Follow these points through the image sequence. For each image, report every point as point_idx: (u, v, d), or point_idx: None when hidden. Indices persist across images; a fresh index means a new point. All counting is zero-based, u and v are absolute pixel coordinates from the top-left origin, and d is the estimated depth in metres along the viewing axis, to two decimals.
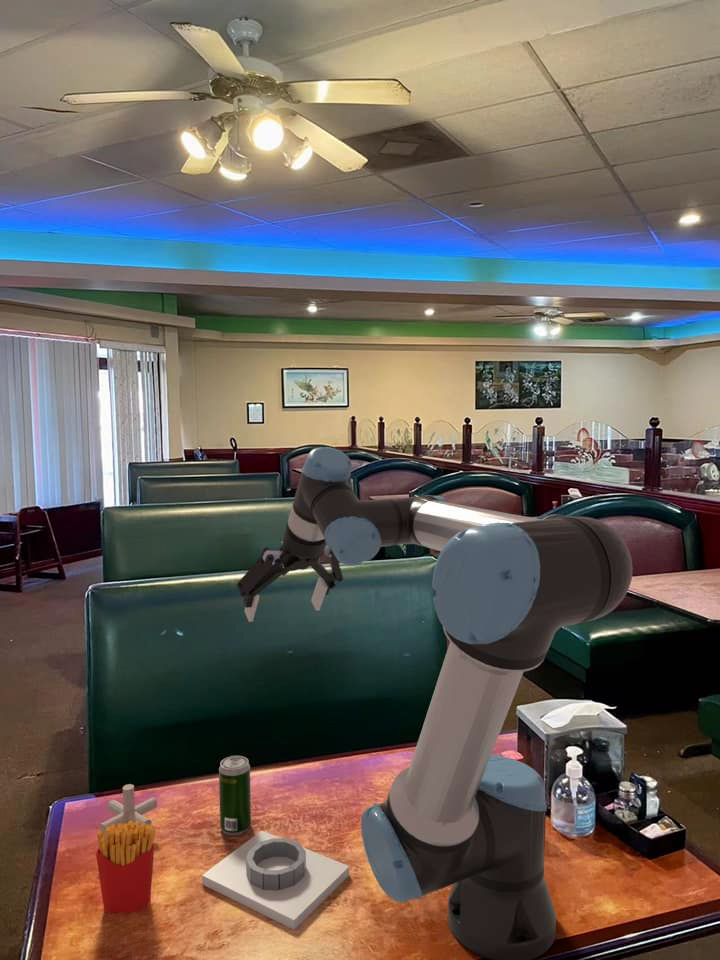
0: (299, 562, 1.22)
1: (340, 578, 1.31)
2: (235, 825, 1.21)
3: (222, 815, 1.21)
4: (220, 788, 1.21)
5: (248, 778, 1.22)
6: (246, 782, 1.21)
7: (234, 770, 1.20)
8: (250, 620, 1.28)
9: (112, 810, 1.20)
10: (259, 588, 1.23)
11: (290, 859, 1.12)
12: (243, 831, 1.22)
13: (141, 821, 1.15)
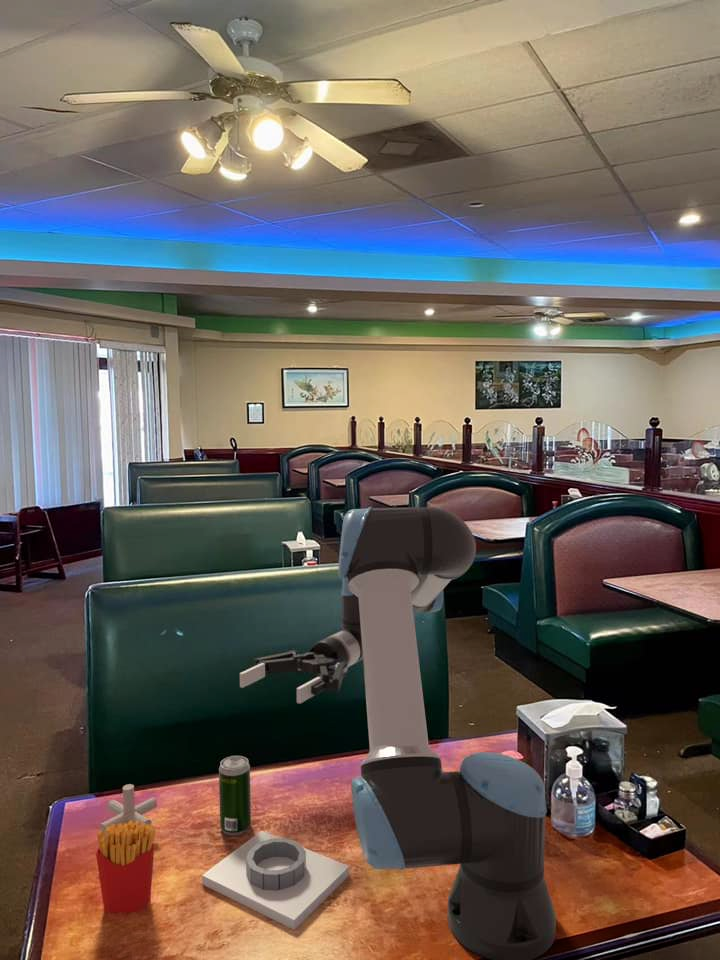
0: (313, 653, 1.42)
1: None
2: (235, 825, 1.21)
3: (222, 815, 1.21)
4: (220, 788, 1.21)
5: (248, 778, 1.22)
6: (246, 782, 1.21)
7: (234, 770, 1.20)
8: (241, 672, 1.33)
9: (112, 810, 1.20)
10: (270, 660, 1.40)
11: (290, 859, 1.12)
12: (243, 831, 1.22)
13: (141, 821, 1.15)
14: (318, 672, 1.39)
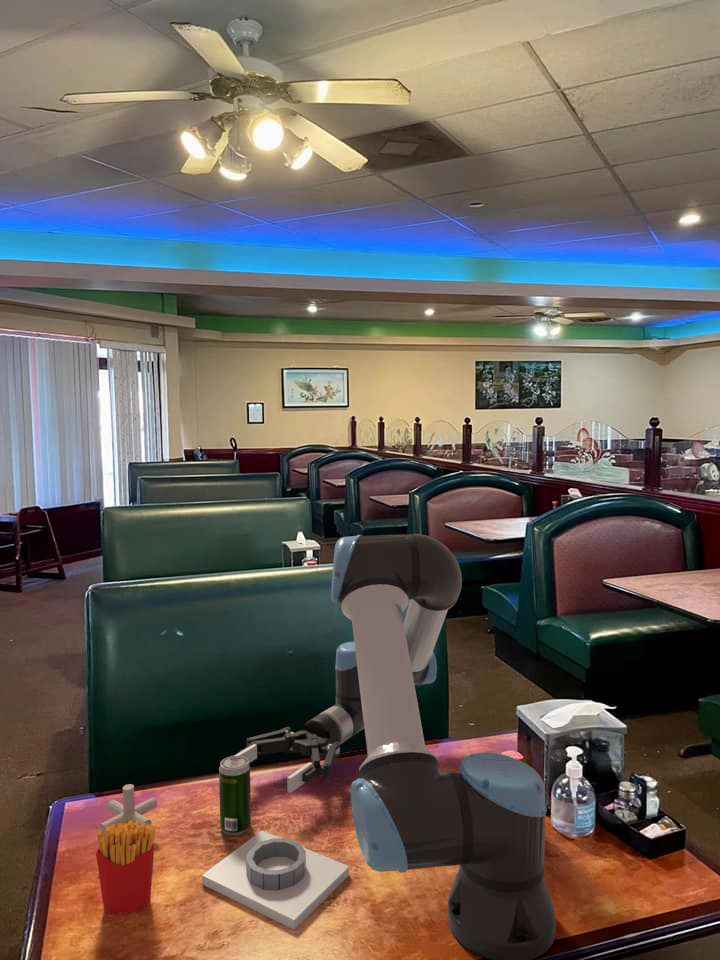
0: (305, 732, 1.42)
1: (327, 763, 1.31)
2: (235, 825, 1.21)
3: (222, 815, 1.21)
4: (220, 788, 1.21)
5: (248, 778, 1.22)
6: (246, 782, 1.21)
7: (234, 770, 1.20)
8: None
9: (112, 810, 1.20)
10: (262, 740, 1.40)
11: (290, 859, 1.12)
12: (243, 831, 1.22)
13: (141, 821, 1.15)
14: (310, 753, 1.38)
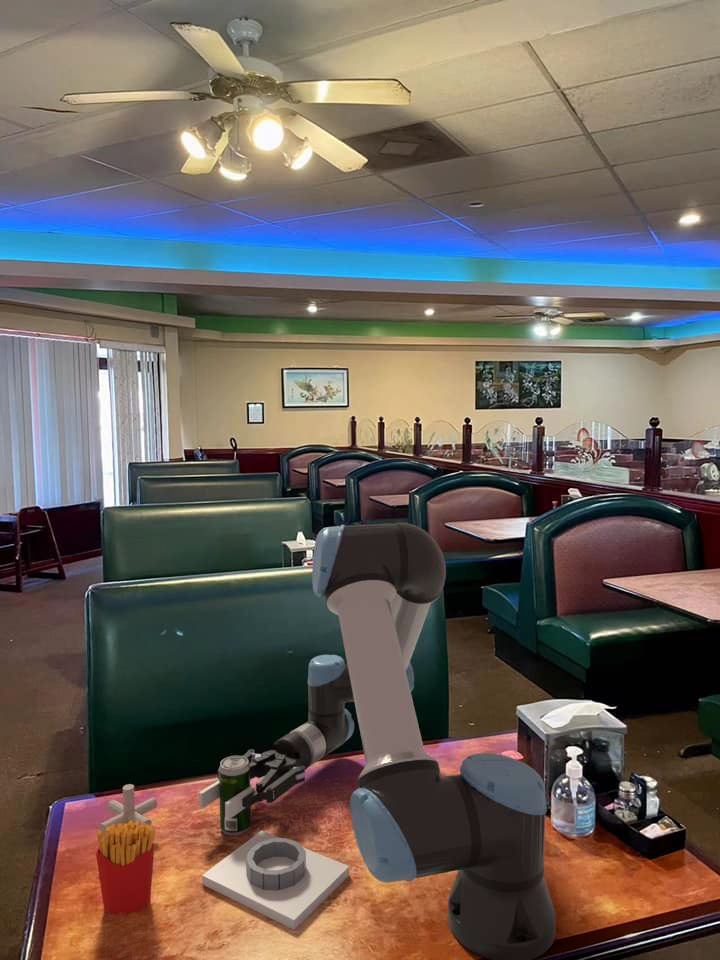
0: (274, 752, 1.33)
1: (271, 786, 1.22)
2: (235, 825, 1.21)
3: (222, 815, 1.21)
4: (220, 788, 1.21)
5: (247, 778, 1.22)
6: (246, 782, 1.21)
7: (234, 770, 1.20)
8: (201, 791, 1.20)
9: (112, 810, 1.20)
10: None
11: (290, 859, 1.12)
12: (243, 831, 1.22)
13: (141, 821, 1.15)
14: None
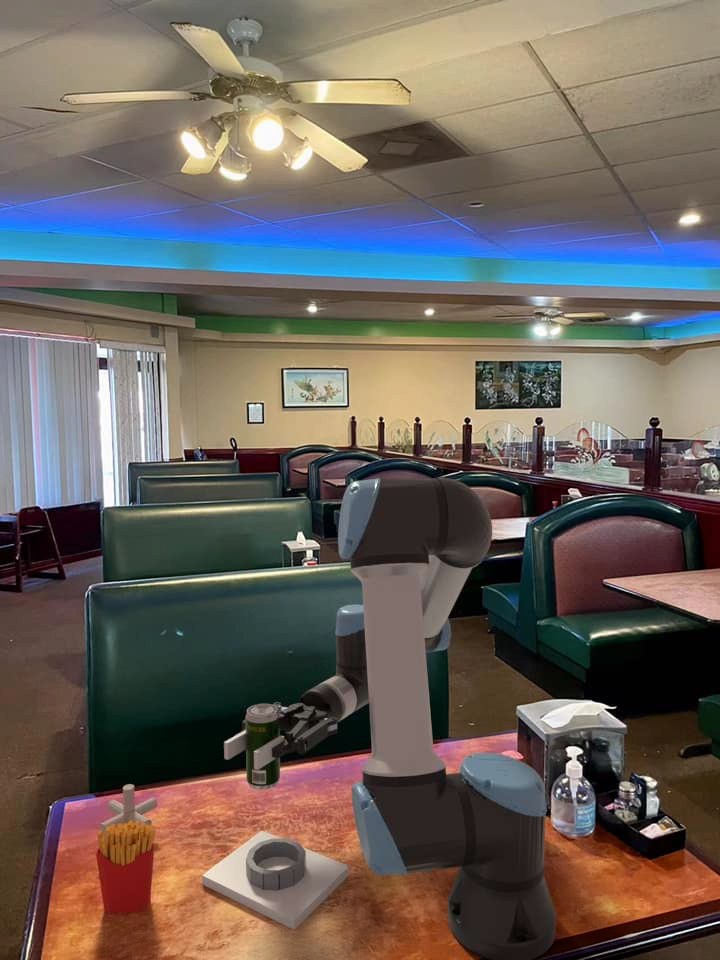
0: (302, 704, 1.23)
1: (303, 736, 1.12)
2: (264, 778, 1.10)
3: (249, 767, 1.11)
4: (247, 737, 1.11)
5: (277, 726, 1.11)
6: (275, 731, 1.11)
7: (262, 717, 1.10)
8: (226, 741, 1.10)
9: (112, 810, 1.20)
10: None
11: (290, 859, 1.12)
12: (272, 785, 1.11)
13: (141, 821, 1.15)
14: None
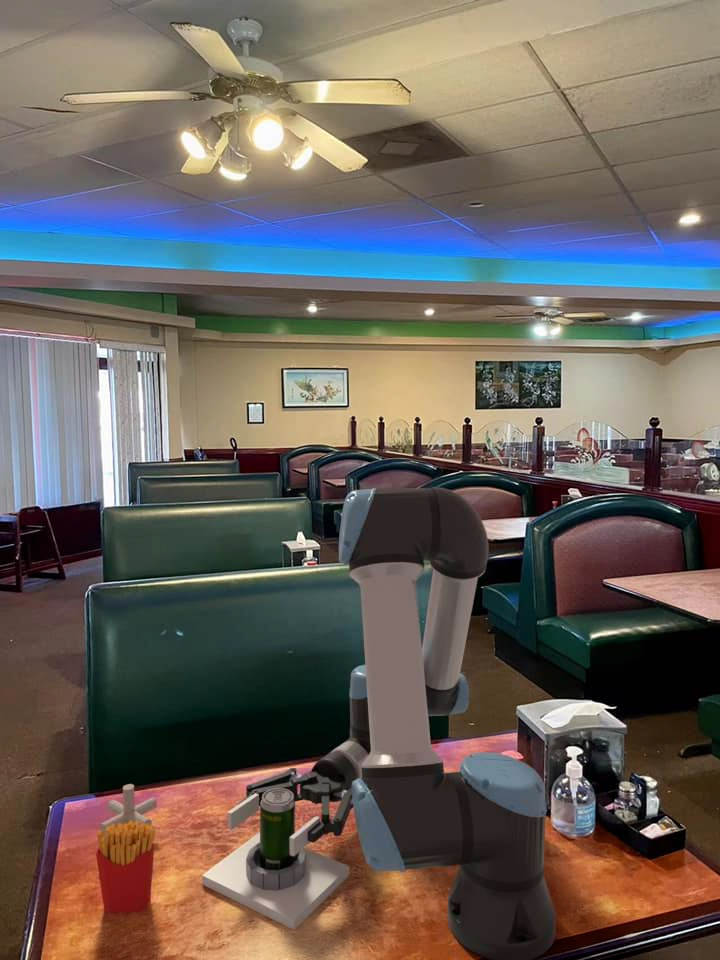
0: (315, 775, 1.19)
1: (338, 817, 1.08)
2: (278, 868, 1.07)
3: (263, 856, 1.07)
4: (261, 825, 1.07)
5: (293, 815, 1.08)
6: (291, 820, 1.07)
7: (278, 806, 1.06)
8: (230, 811, 1.09)
9: (112, 810, 1.20)
10: (265, 788, 1.16)
11: None
12: None
13: (141, 821, 1.15)
14: (320, 801, 1.15)
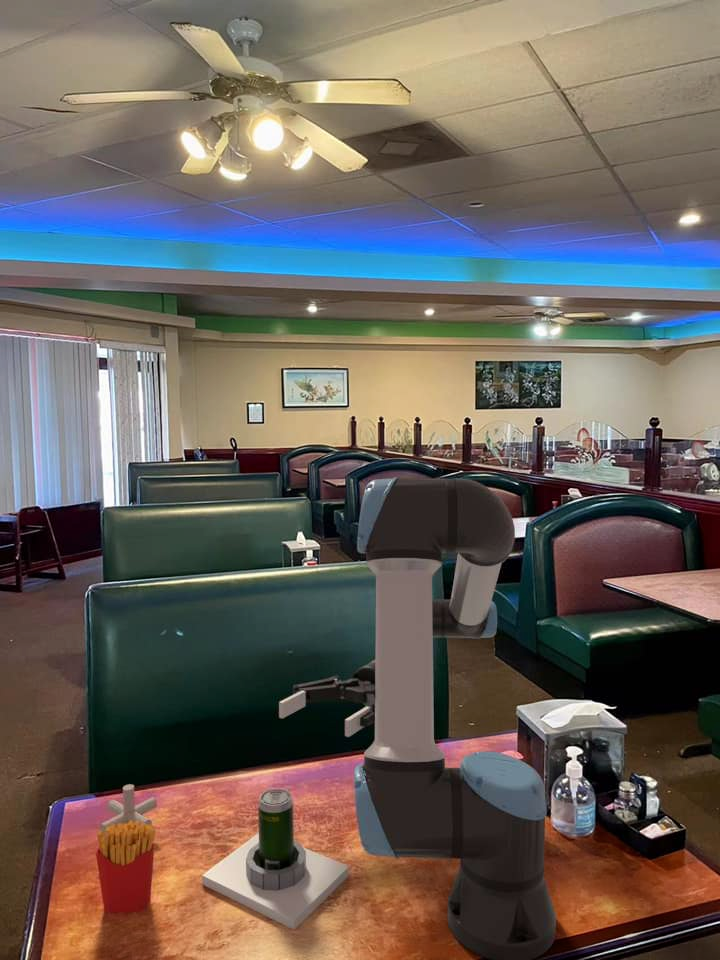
0: (357, 679, 1.29)
1: None
2: (277, 869, 1.07)
3: (262, 857, 1.07)
4: (260, 826, 1.07)
5: (291, 815, 1.08)
6: (289, 820, 1.07)
7: (276, 806, 1.06)
8: (281, 701, 1.20)
9: (112, 810, 1.20)
10: (311, 687, 1.27)
11: None
12: None
13: (141, 821, 1.15)
14: (364, 701, 1.25)
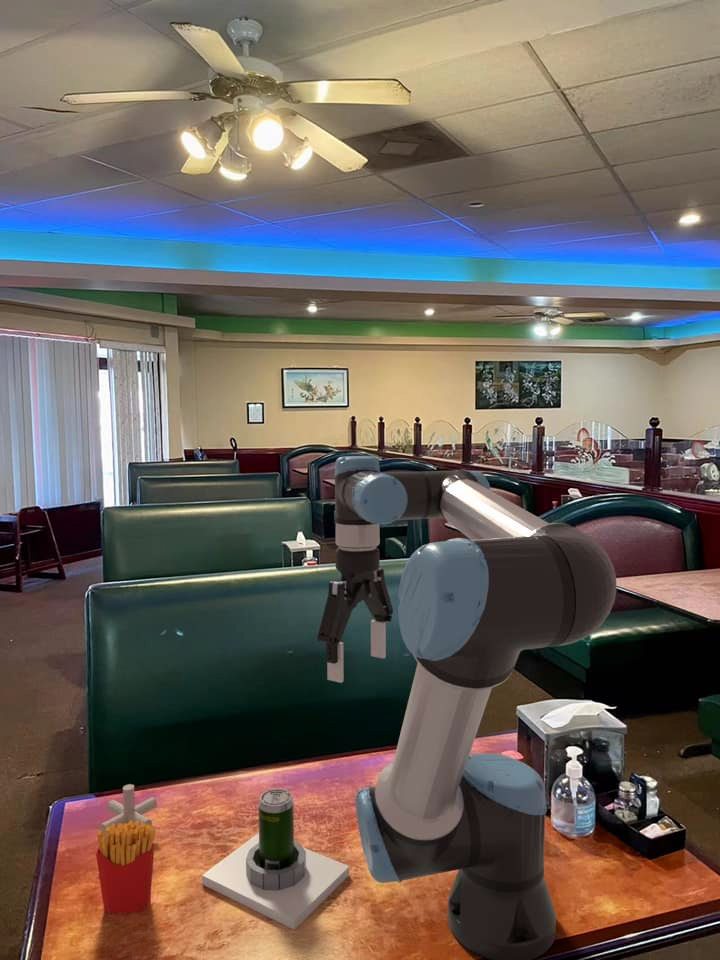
0: (364, 585, 1.18)
1: (391, 609, 1.28)
2: (277, 869, 1.07)
3: (262, 857, 1.07)
4: (260, 826, 1.07)
5: (291, 815, 1.08)
6: (289, 820, 1.07)
7: (276, 807, 1.06)
8: (341, 680, 1.15)
9: (112, 810, 1.20)
10: (341, 630, 1.14)
11: None
12: None
13: (141, 821, 1.15)
14: None
